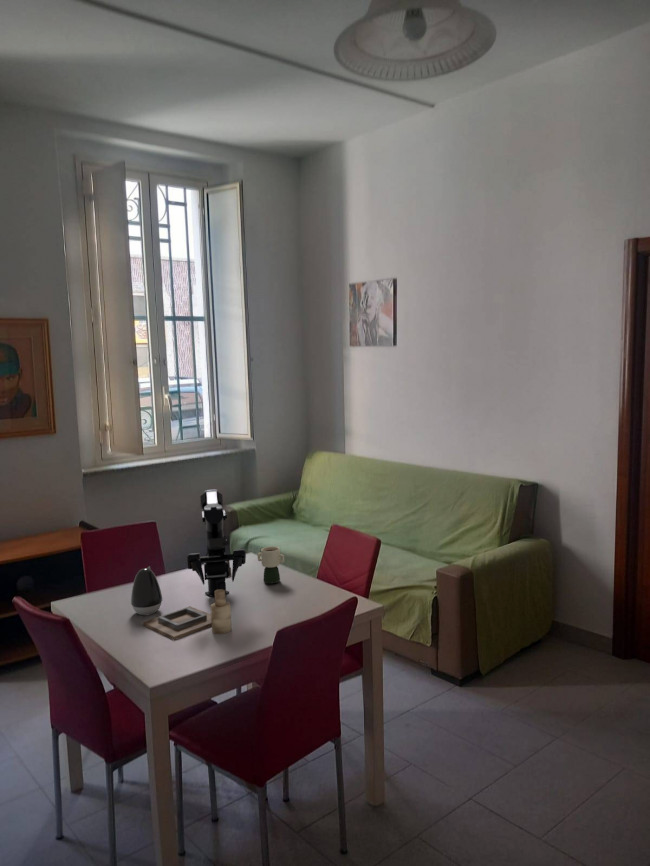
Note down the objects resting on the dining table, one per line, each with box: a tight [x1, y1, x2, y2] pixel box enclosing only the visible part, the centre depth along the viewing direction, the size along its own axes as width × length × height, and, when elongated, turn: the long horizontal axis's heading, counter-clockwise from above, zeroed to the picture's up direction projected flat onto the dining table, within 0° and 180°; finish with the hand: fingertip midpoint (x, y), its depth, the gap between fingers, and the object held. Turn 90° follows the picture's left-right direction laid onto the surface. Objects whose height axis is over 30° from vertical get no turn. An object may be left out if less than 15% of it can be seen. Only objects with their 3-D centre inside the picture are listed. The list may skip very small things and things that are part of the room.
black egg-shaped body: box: [130, 566, 163, 616], centre depth 223 cm, size 10×10×15 cm
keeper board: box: [142, 605, 212, 641], centre depth 212 cm, size 18×18×2 cm
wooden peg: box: [210, 589, 232, 635], centre depth 205 cm, size 6×6×12 cm
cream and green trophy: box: [257, 545, 285, 584], centre depth 249 cm, size 11×7×13 cm, turn 71°
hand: (218, 582), depth 211 cm, fingers open, 9 cm apart
